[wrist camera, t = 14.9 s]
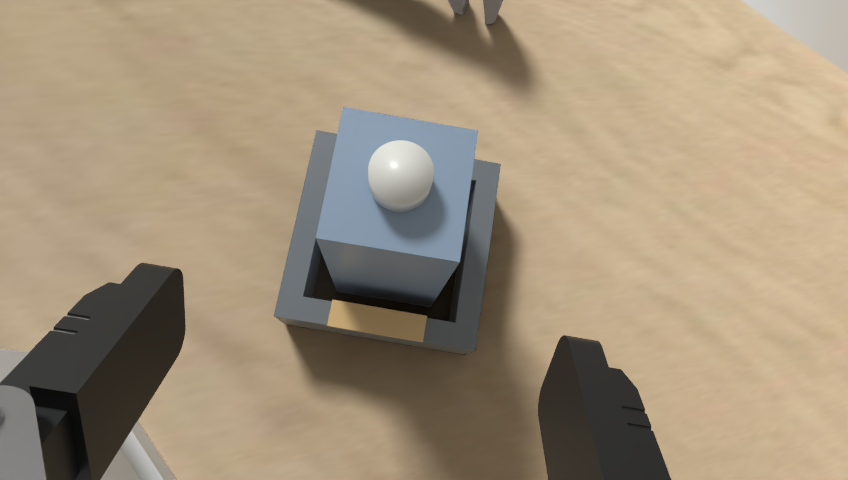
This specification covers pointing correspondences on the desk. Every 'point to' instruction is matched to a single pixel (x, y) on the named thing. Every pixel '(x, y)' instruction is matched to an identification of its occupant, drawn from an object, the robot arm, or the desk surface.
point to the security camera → (136, 459)
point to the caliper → (491, 8)
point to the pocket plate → (375, 321)
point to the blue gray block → (395, 206)
